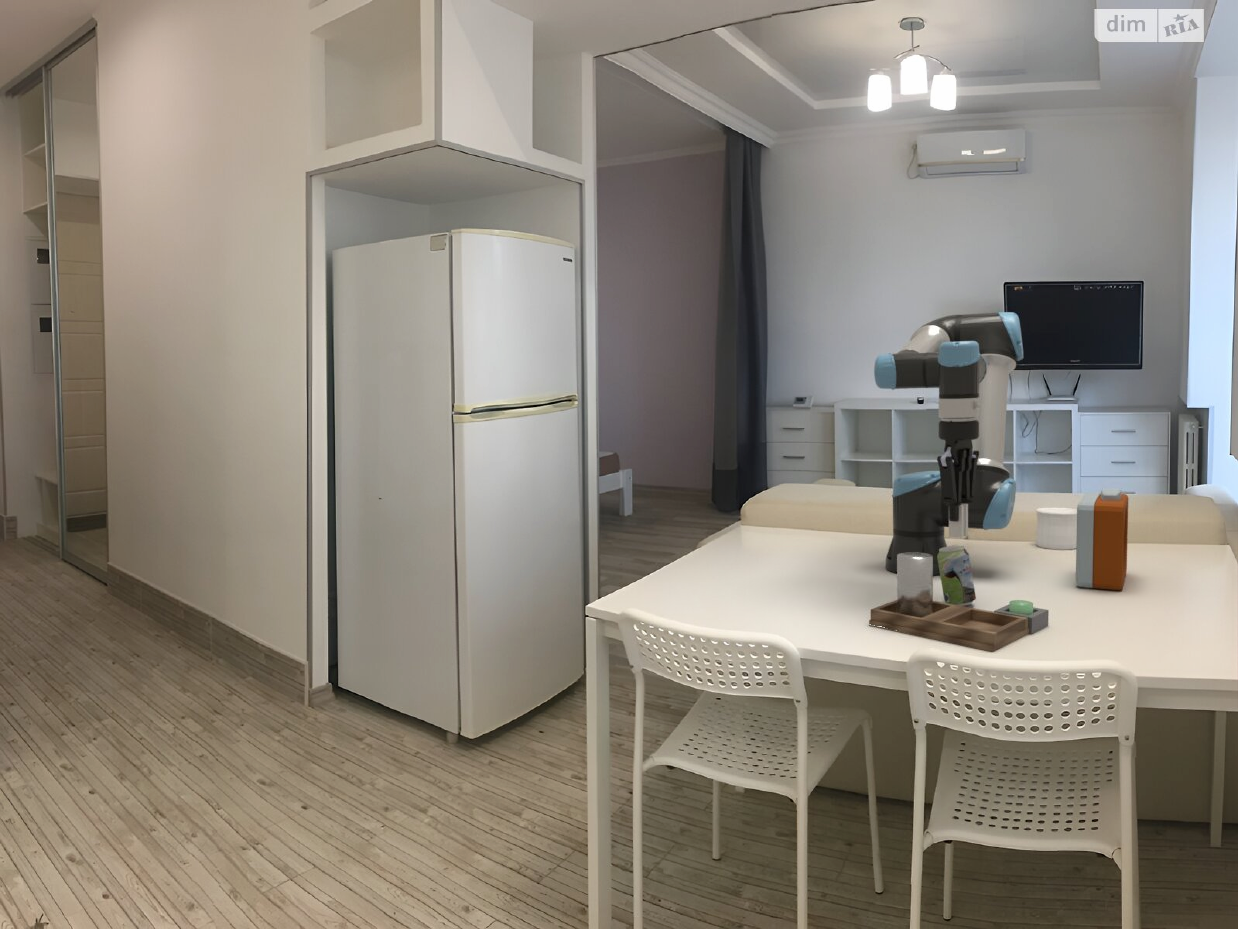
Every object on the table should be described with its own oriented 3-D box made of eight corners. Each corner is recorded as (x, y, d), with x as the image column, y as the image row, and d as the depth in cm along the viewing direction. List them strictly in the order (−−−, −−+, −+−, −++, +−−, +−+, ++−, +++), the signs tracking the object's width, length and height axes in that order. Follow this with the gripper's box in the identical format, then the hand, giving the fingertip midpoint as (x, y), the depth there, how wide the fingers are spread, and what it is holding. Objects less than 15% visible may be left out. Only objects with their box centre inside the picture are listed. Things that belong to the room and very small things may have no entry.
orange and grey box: (1122, 592, 187) (1124, 495, 184) (1075, 588, 191) (1076, 493, 189) (1126, 574, 202) (1128, 483, 200) (1083, 570, 207) (1084, 482, 205)
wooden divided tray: (869, 625, 170) (869, 610, 169) (908, 610, 179) (908, 595, 179) (992, 651, 152) (993, 634, 152) (1029, 633, 161) (1029, 617, 161)
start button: (1005, 626, 166) (1005, 603, 165) (1015, 622, 169) (1015, 599, 168) (1027, 631, 163) (1027, 606, 162) (1036, 626, 166) (1036, 602, 165)
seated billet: (890, 618, 170) (890, 556, 169) (908, 611, 175) (908, 550, 173) (921, 624, 166) (921, 560, 164) (939, 617, 170) (939, 555, 169)
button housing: (993, 626, 166) (993, 611, 166) (1010, 618, 171) (1010, 603, 170) (1031, 634, 161) (1032, 617, 160) (1048, 625, 165) (1048, 609, 165)
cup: (1085, 549, 229) (1086, 512, 228) (1046, 551, 229) (1046, 513, 228) (1067, 542, 238) (1068, 506, 237) (1029, 543, 238) (1030, 507, 237)
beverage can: (978, 609, 178) (978, 549, 177) (939, 608, 180) (939, 549, 178) (972, 601, 184) (972, 543, 183) (935, 600, 186) (935, 543, 184)
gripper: (959, 422, 170) (959, 544, 173) (993, 417, 180) (992, 532, 182) (923, 421, 176) (923, 539, 178) (957, 416, 185) (957, 528, 188)
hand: (958, 535), depth 180 cm, fingers closed
